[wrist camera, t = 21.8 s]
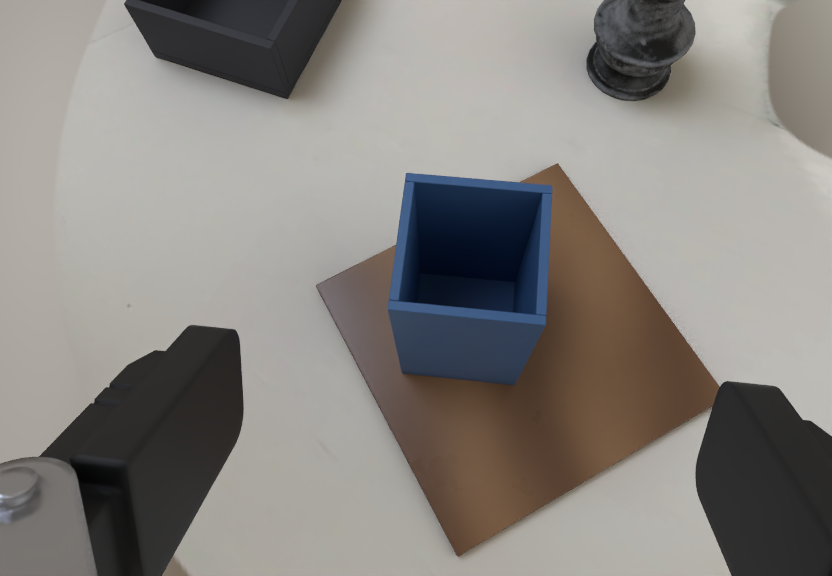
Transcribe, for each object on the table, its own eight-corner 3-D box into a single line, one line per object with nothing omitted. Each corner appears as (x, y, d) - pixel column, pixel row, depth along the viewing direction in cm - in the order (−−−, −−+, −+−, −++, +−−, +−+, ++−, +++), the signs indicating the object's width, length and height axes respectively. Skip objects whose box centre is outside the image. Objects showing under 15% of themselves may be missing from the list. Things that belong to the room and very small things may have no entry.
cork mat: (457, 556, 32) (457, 556, 31) (317, 288, 37) (315, 285, 37) (723, 398, 34) (727, 397, 34) (556, 167, 39) (557, 162, 39)
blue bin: (515, 385, 34) (546, 325, 24) (401, 373, 35) (387, 309, 25) (521, 279, 36) (552, 185, 26) (414, 269, 37) (406, 172, 27)
